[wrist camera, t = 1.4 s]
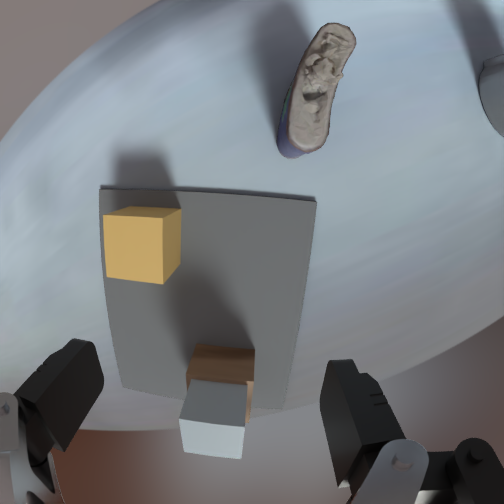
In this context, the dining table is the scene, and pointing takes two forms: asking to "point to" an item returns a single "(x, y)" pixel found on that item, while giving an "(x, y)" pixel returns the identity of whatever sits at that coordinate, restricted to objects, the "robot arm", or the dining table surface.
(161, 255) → the ochre block
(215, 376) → the tower base
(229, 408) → the tower mid
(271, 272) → the slate mat
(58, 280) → the dining table surface
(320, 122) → the flask
